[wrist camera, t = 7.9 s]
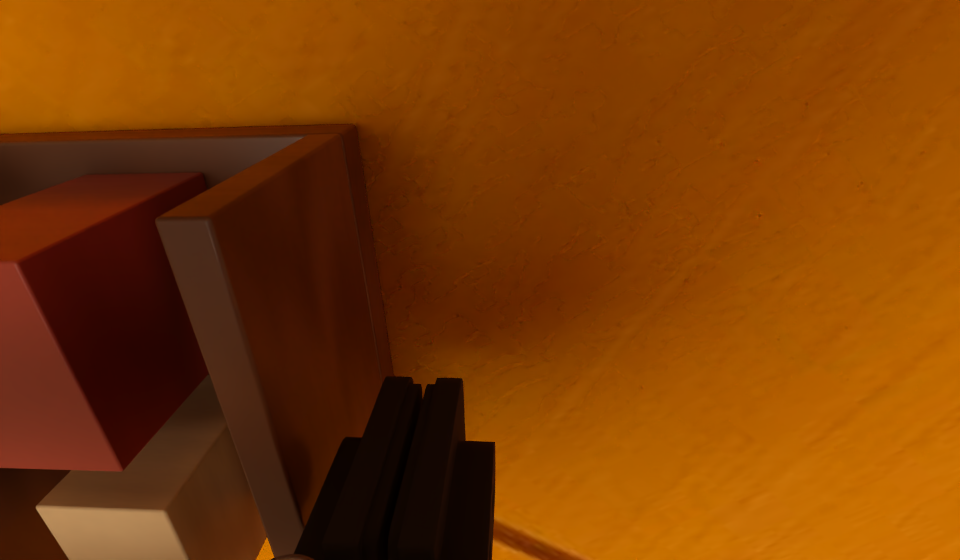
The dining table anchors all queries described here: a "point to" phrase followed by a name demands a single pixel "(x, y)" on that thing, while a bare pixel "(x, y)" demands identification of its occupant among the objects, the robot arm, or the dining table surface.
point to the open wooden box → (180, 337)
